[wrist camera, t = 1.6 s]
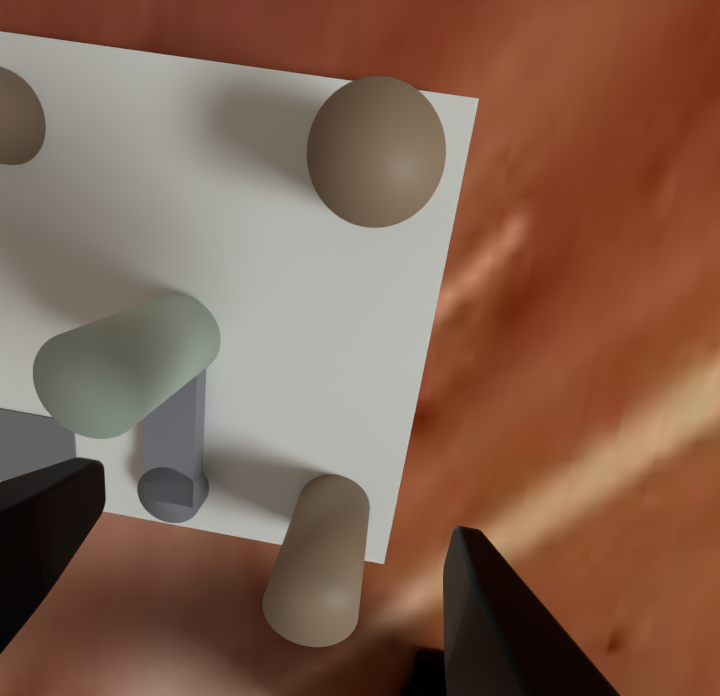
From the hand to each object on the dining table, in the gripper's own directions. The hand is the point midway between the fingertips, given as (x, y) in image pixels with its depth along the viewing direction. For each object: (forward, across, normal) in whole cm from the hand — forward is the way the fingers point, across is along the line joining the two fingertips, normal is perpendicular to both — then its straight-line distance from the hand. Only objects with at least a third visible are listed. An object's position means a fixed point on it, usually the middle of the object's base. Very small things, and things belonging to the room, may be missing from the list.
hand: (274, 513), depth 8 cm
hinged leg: (+9, +6, +3) cm, 11 cm away
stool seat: (+11, +6, 0) cm, 13 cm away
